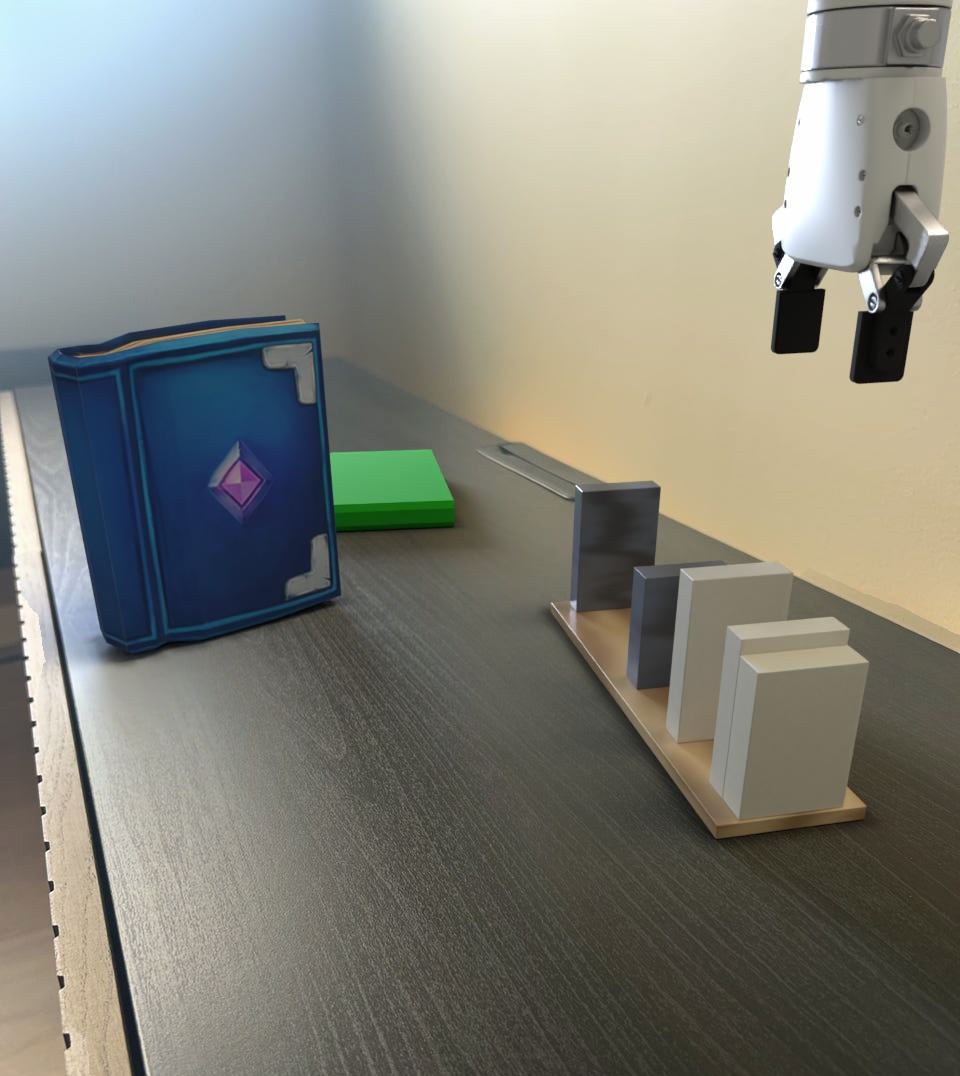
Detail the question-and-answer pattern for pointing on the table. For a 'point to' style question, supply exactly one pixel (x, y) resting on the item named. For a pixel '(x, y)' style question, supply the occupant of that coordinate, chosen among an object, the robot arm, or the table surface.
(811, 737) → the white books
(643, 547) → the book rack
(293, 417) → the book
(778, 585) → the white book
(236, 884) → the table surface
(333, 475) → the green flat slab
